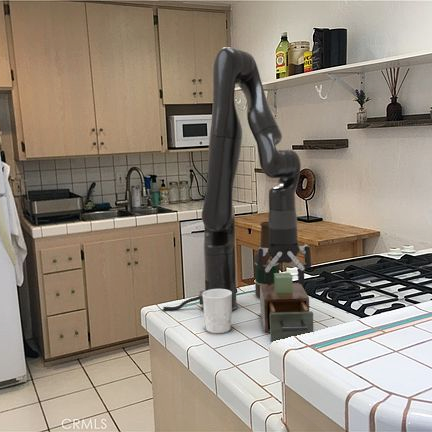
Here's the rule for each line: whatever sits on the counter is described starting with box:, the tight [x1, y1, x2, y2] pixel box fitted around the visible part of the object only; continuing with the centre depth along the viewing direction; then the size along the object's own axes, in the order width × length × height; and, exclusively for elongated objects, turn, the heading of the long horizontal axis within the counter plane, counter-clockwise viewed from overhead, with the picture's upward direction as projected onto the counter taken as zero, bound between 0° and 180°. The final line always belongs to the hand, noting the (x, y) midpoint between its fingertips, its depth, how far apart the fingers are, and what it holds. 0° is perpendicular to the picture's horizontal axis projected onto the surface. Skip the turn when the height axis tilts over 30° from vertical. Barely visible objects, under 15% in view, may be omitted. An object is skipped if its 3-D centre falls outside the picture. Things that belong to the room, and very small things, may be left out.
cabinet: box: [259, 282, 310, 334], centre depth 137 cm, size 14×12×9 cm
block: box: [274, 272, 293, 293], centre depth 136 cm, size 4×4×4 cm
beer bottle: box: [254, 221, 280, 299], centre depth 160 cm, size 8×8×24 cm
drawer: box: [268, 301, 314, 343], centre depth 126 cm, size 17×10×7 cm, turn 179°
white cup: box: [202, 289, 233, 334], centre depth 135 cm, size 8×8×10 cm
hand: (284, 284), depth 137 cm, fingers open, 8 cm apart
